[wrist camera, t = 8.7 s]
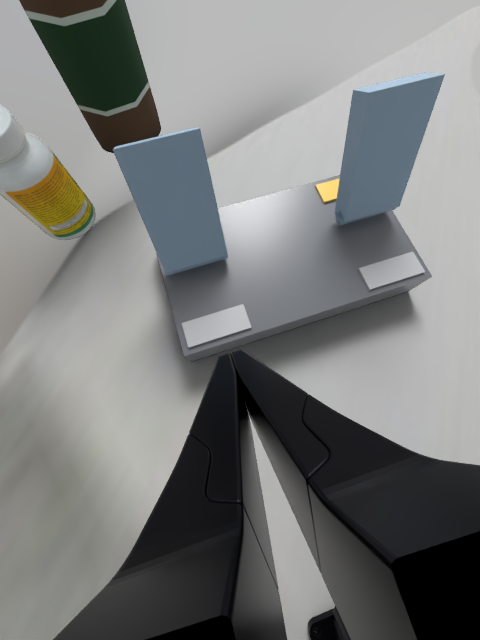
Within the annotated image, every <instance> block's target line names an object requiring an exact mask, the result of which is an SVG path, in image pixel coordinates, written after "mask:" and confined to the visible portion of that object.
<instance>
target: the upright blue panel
mask: <svg viewBox="0 0 480 640" xmlns="http://www.w3.org/2000/svg"><path fill="white" fill-rule="evenodd" d="M444 75H445V74H435V73H421V74H417V75H413V76H409V77H405V78H401V79H396V80H392V81H388V82H384V83H380V84H376V85H371V86H367V87H363V88H359V89H355V90H353V95H352V101H351V108H350V115H349V121H348V128H347V134H346V141H345V147H344V154H343V160H342V167H341V174H340V180H339V187H338V193H337V200H336V206H335V213H334V214H335V215H336V216H335V218H336V222H337V224H338V225H343V224H347V223H350V222H353V221H357V220H360V219H364V218H367V217H371V216H374V215H377V214H381V213H384V212H388V211H391V210H394V209H396V207H399V206H400V203H401V200H402V197H403V194H404V191H405V188H406V185H407V182H408V179H409V177H410V174H411V171H412V168H413V165H414V162H415V159H416V156H417V153H418V150H419V148H420V145H421V142H422V139H423V136H424V133H425V130H426V127H427V124H428V122H429V119H430V116H431V113H432V110H433V107H434V104H435V101H436V98H437V95H438V93H439V90H440V87H441V84H442V81H443V78H444Z"/></svg>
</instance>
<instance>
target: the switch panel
mask: <svg viewBox="0 0 480 640" xmlns="http://www.w3.org/2000/svg"><path fill="white" fill-rule="evenodd" d="M339 180H340V175H339V176H335V177H331V178H328V179H324V180H320V181H317V182H313V183H309V184H306V185H302V186H298V187H295V188H291V189H287V190H284V191H280V192H276V193H273V194H269V195H265V196H262V197H258V198H254V199H251V200H247V201H243V202H239V203H236V204H232V205H228V206H225V207H221V208H218V212H219V217H220V221H221V226H222V230H223V235H224V239H225V244H226V248H227V253H228V258H226V259H223V260H220V261H216V262H213V263H209V264H206V265H202V266H199V267H195V268H192V269H189V270H185V271H182V272H178V273H175V274H171V275H168V276H167V274H166V273H165V271H164V268H163V266H162V264H161V261H160V259H159V257H158V260H159V264H160V267H161V271H162V275H163V279H164V283H165V286H166V290H167V294H168V298H169V302H170V305H171V309H172V313H173V317H174V321H175V324H176V328H177V332H178V336H179V339H180V343H181V347H182V351H183V355H184V357H186V358H187V359H188V360H190V361H191V362H192V361H195V360H198V359H201V358H204V357H208V356H211V355H214V354H217V353H220V352H223V351H226V350H229V349H232V348H235V347H238V346H241V345H244V344H248V343H251V342H254V341H257V340H260V339H263V338H266V337H269V336H272V335H275V334H278V333H281V332H284V331H287V330H291V329H294V328H297V327H300V326H303V325H306V324H309V323H312V322H315V321H318V320H321V319H324V318H327V317H331V316H334V315H337V314H340V313H343V312H346V311H349V310H352V309H355V308H358V307H361V306H364V305H367V304H371V303H374V302H377V301H380V300H383V299H386V298H389V297H392V296H395V295H398V294H401V293H404V292H407V291H410V290H411V289H413V288H414V287H416V286H418V285H419V284H421V283H422V282H424V281H426V280H427V279H429V278H430V277H432V275H431V274H430V272H429V270H428V269H427V267H426V266H425V264H424V262H423V261H422V259H421V257H420V256H419V254H418V252H417V251H416V249H415V247H414V246H413V244H412V243H411V241H410V239H409V238H408V236H407V234H406V233H405V231H404V229H403V228H402V226H401V224H400V223H399V221H398V220H397V218H396V216H395V215H394V213H393V211H392V210H391V211H388V212H384V213H381V214H377V215H374V216H371V217H367V218H364V219H360V220H357V221H353V222H350V223H347V224H343V225H338V224H337V222H336V218H335V216H336V215H335V214H334V213H335V206H336V200H337V193H338V187H339ZM157 256H158V254H157Z"/></svg>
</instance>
